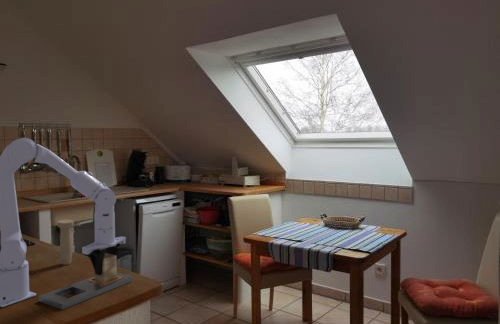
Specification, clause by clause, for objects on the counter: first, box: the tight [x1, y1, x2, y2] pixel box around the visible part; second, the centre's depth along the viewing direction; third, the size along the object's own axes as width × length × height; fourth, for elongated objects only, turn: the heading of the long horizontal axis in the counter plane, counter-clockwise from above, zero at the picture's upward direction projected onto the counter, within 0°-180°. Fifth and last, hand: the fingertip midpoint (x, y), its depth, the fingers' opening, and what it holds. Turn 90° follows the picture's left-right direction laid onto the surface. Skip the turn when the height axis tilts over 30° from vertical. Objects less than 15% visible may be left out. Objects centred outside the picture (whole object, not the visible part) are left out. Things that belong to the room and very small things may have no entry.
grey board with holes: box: [38, 272, 133, 311], centre depth 117 cm, size 24×10×2 cm, turn 150°
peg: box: [93, 252, 118, 284], centre depth 122 cm, size 4×4×8 cm
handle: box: [57, 219, 75, 266], centre depth 140 cm, size 5×6×15 cm
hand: (105, 271), depth 122 cm, fingers closed on peg, 4 cm apart
